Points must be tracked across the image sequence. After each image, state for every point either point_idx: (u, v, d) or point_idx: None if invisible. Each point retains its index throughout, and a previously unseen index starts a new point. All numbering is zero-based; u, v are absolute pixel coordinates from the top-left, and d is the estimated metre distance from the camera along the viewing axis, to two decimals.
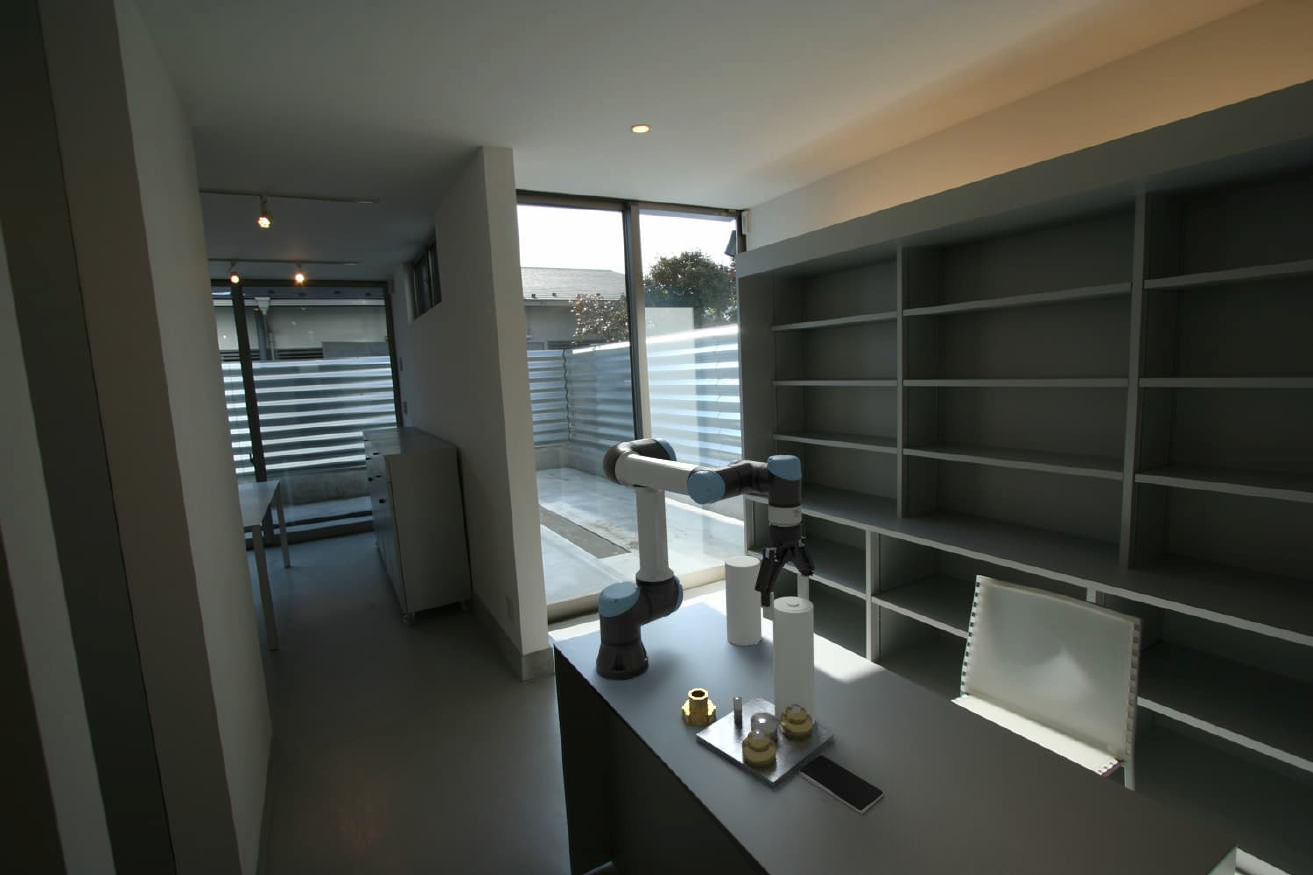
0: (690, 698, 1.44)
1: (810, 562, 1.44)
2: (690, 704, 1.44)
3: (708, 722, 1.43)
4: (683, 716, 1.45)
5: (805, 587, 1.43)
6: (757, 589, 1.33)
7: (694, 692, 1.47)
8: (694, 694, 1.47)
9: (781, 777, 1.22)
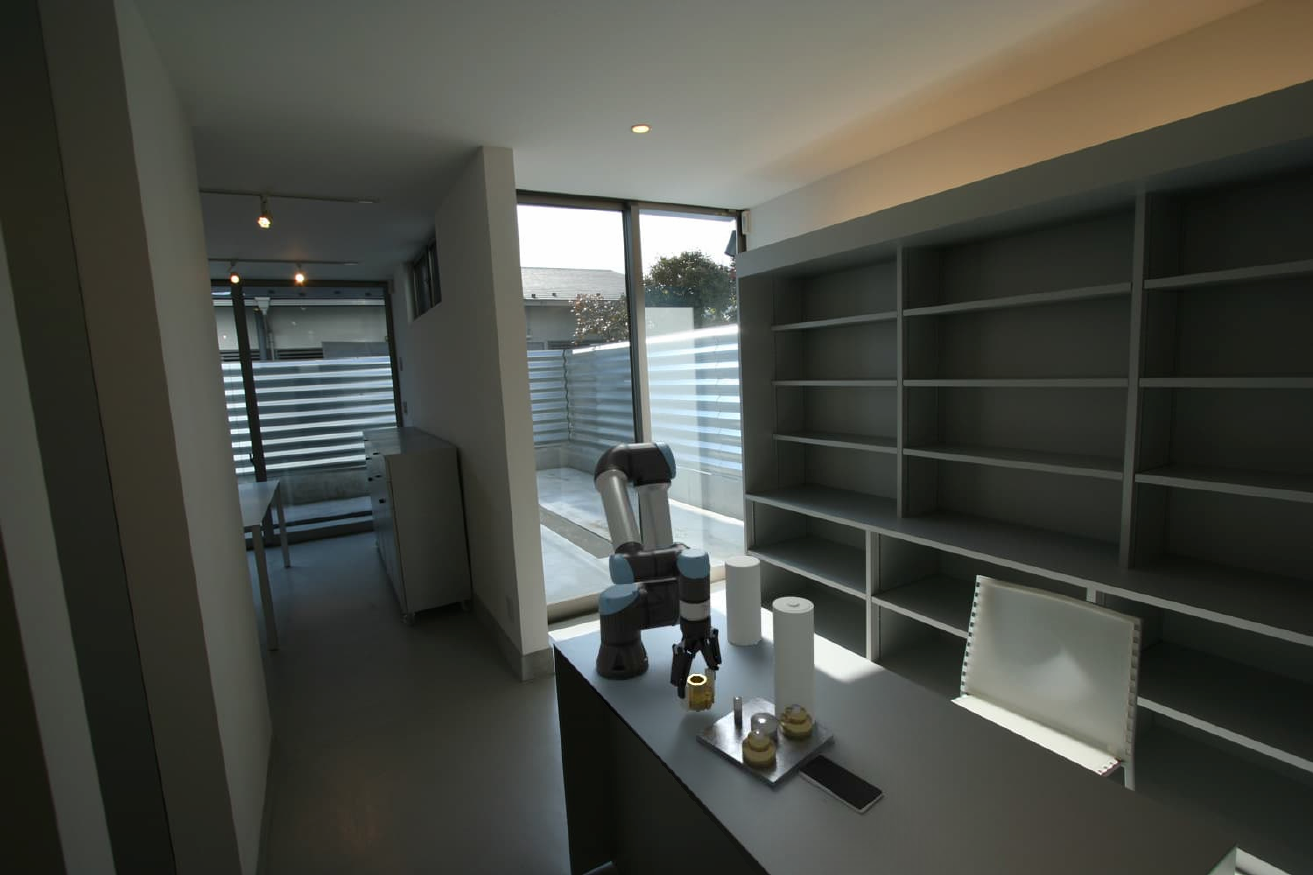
0: (689, 684, 1.44)
1: (718, 655, 1.48)
2: (689, 689, 1.44)
3: (707, 707, 1.43)
4: None
5: (711, 681, 1.47)
6: (672, 683, 1.40)
7: (693, 678, 1.47)
8: (693, 680, 1.47)
9: (781, 777, 1.22)
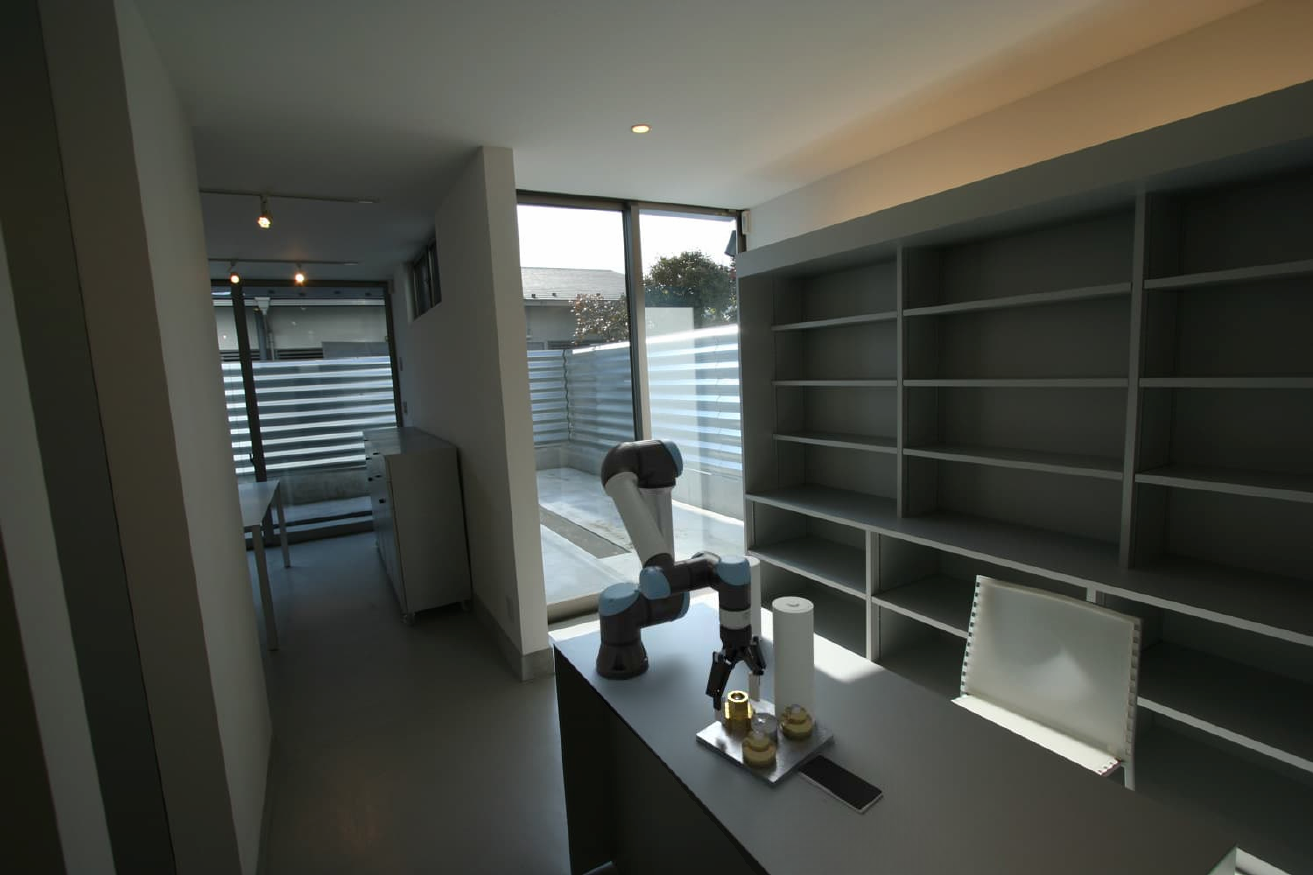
0: (730, 701, 1.39)
1: (761, 661, 1.44)
2: (730, 707, 1.40)
3: (749, 725, 1.38)
4: None
5: (756, 686, 1.44)
6: (708, 694, 1.34)
7: (733, 694, 1.42)
8: (733, 696, 1.42)
9: (781, 777, 1.22)
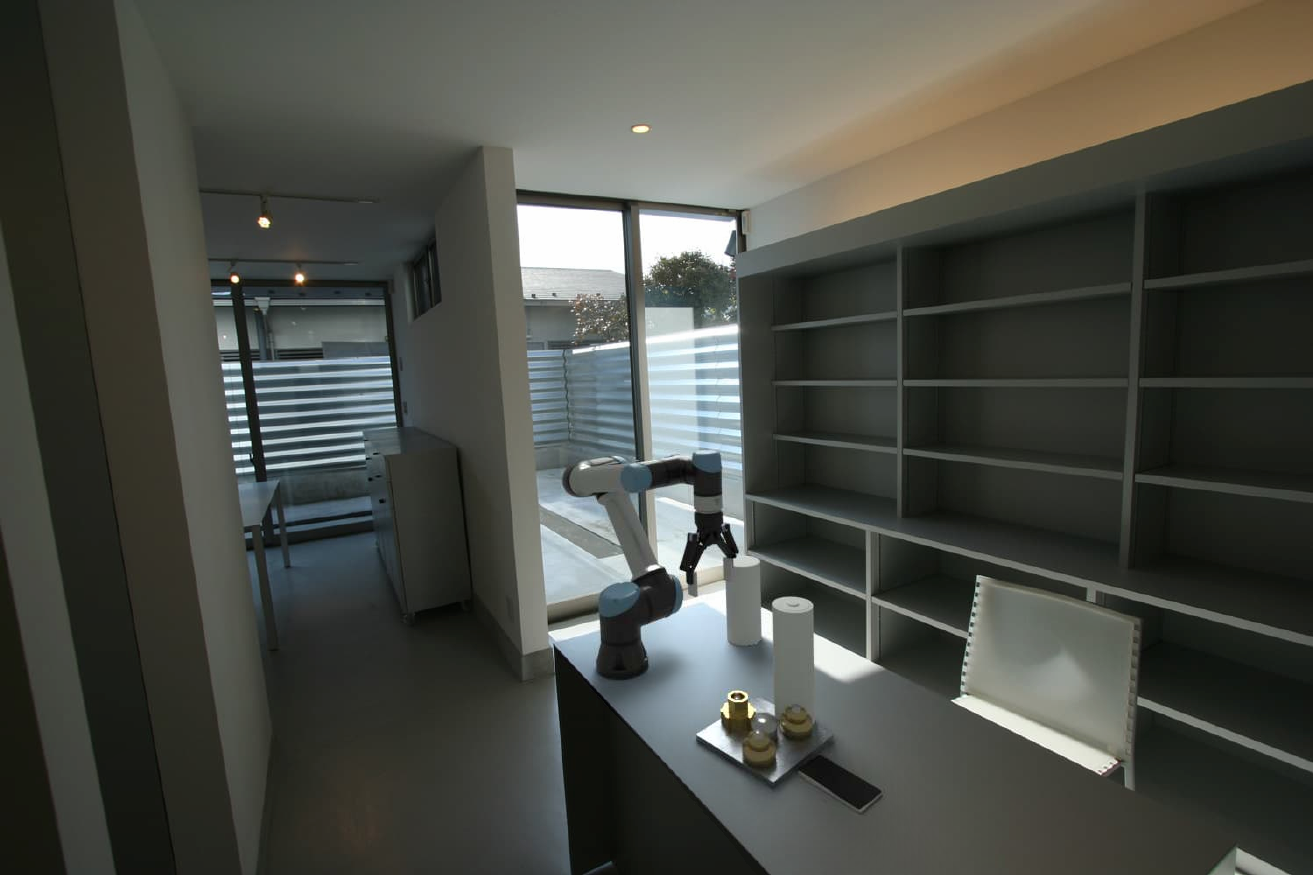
0: (730, 701, 1.39)
1: (734, 546, 1.61)
2: (730, 707, 1.40)
3: (749, 725, 1.38)
4: (722, 719, 1.41)
5: (729, 568, 1.61)
6: (681, 569, 1.50)
7: (733, 694, 1.42)
8: (733, 696, 1.42)
9: (781, 777, 1.22)
